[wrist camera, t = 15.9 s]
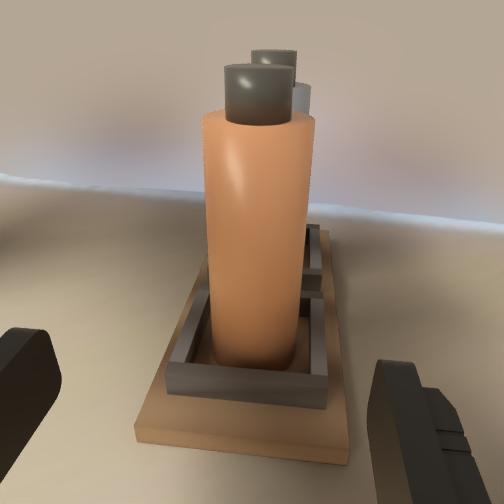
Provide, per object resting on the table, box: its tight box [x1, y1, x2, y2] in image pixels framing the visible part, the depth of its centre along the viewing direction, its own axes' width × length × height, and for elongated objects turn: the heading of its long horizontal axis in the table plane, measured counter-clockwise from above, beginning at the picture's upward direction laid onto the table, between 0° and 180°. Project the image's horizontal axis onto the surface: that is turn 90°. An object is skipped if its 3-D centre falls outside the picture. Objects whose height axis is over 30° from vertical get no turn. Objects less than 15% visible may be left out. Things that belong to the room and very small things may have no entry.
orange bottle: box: [202, 64, 315, 372], centre depth 20 cm, size 5×5×15 cm
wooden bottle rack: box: [134, 224, 350, 465], centre depth 28 cm, size 22×10×3 cm, turn 173°
